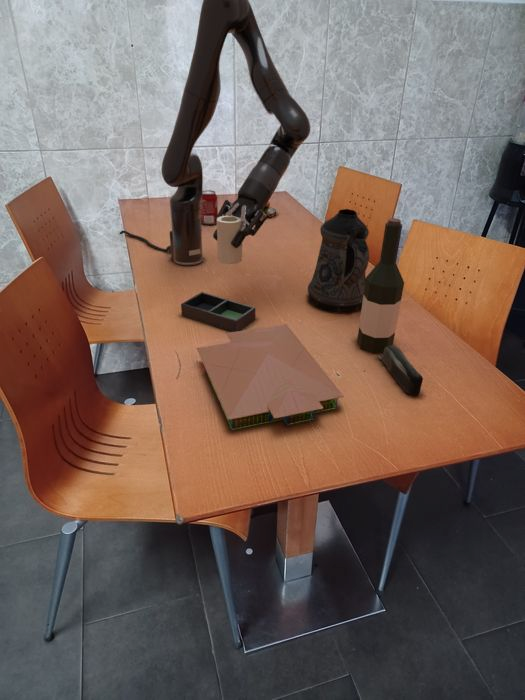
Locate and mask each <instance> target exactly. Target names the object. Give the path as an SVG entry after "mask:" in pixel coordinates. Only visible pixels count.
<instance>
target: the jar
mask: <svg viewBox="0 0 525 700" xmlns="http://www.w3.org/2000/svg"><path fill="white" fill-rule="evenodd" d="M240 219H241V218H238V217H235V216H232V215H231V216H223V215H222V216H221V217H218V218H217V223H216V229H217V240H216V241H217V243H216V244H217V260H218V262H219V263H222V264H224V265H236V264H240V263H241V262H243V243H242V244H241V245H240V246H239V247H238V248H235V247H233V246H232V245H231V242H232V240H233V239H234V237H235V235H236V234H237V232H238V231H240V226H241V220H240Z"/></svg>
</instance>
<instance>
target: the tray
mask: <svg viewBox="0 0 525 700" xmlns="http://www.w3.org/2000/svg"><path fill="white" fill-rule="evenodd" d="M180 309H181V311H180V312H181V317H184V318H188V319H190V320H194V321H198V322H200V323H204V324H206V325H210V326H213V327H216V328H219V329H222V330H224V331H228V332H237V331H243V329H244V328H245V327H247V326H248V325H250V324H251V323H253V322H254V321H255V320H256V307H255V306H251V305H248V304H244V303H241V302H238V301H234V300H231V299H228V298H224V297H220V296H217V295H214V294H210V293H208V292H203V291H201V292H199V293H197V294H196V295H194V296H192V297H190V298H189V299H186V300H185V301H183V302H182V303H181V304H180Z"/></svg>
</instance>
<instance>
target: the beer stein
mask: <svg viewBox="0 0 525 700" xmlns="http://www.w3.org/2000/svg"><path fill="white" fill-rule="evenodd" d="M319 231H320V235H321V243H320V248H319V252H318V256H317V261H316V265H315V269H314V272H313V275H312V278H311V280H310V282H309V284H308V286H307V293H308V294H307V295H308V301H309V303H310V304H311V305H312V306H314V307H315V308H316V309H319V310H321V311H324V312H328V313H334V314H349V313H354V312H357V311H359V310H362V303H363V295H364V288H365V281H366V277H367V275H366V271H367V269H368V266H369V261H370V250H369V246H368V243H367V241H366V240H367V239H368V236H369V234H370V230H369V228H368V226H367V225H366V224H365V223H364V222H363V221H362V220H361V218H360V217H359V216H358V214H357V211H356V210H353V209H348V208H345V209H339V210H338V212H337V213H336V214H335V215H334V216H333V217H331V218H329V219H327V220H326V221H325V222H324V223H322V225H321V226H320V229H319Z"/></svg>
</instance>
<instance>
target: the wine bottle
mask: <svg viewBox="0 0 525 700" xmlns="http://www.w3.org/2000/svg"><path fill="white" fill-rule="evenodd" d="M402 230H403V224H402V220H400V218H392V217H391V218H389V219H388V220H387V222H385V225H384V230H383V231H384V232H383V238H382V244H381V251H380V257H379V261H378V262H377V264H376V265H375V266H374V267H373V268H372V270H370V272H369V273H368V274H367V275H366V281H365V288H364V295H363V303H362V308H361V309H360V310H361V311H360V317H359V324H358V330H357V331H358V333H357V339H356V342H357V345H358V347H359V349H360V350H363V351H365V352H368V353H370V354H383V353H384V348H385V347H386V346H389V345H393V346H394V342H395V341H394V340H395V335H396V330H397V324H398V319H399V314H400V308H401V303H402V297H403V292H404V286H405V281H404V279H403V276H402V274H401V272H400V270H399V269H400V268H399V267H398V265H397V259H398V253H399V248H400V242H401V235H402Z"/></svg>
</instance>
